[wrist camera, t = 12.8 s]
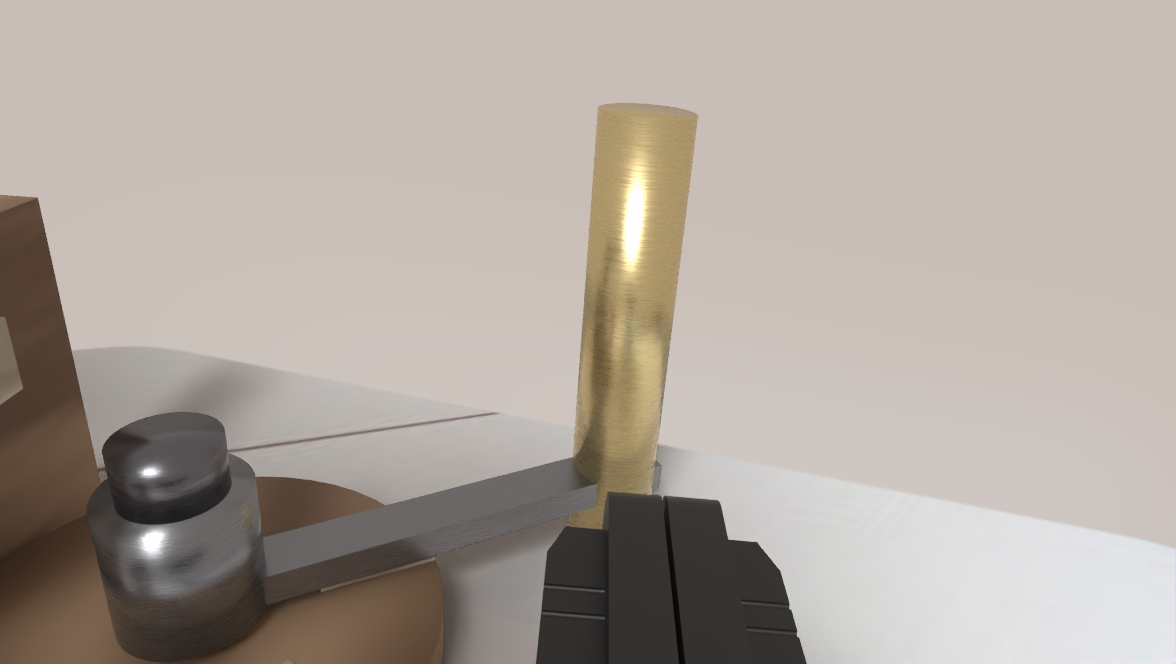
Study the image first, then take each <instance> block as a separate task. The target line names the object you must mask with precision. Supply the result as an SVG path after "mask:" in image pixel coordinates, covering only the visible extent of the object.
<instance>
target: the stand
mask: <svg viewBox="0 0 1176 664" xmlns="http://www.w3.org/2000/svg"><path fill="white" fill-rule="evenodd" d="M255 478H256V486H257V494H258V502H259V510H260V518H261V526H262V534H263V537H267V536H271V535H275V534H279V533H282V532H286V531H290V530H294V529H298V528H302V527H306V526H309V525H313V524H317V523H321V522H325V521H329V520H333V519H336V518H340V517H344V516H348V515H352V514H356V513H360V512H363V511H367V510H371V509H375V508H379V507H383V506H385V505H383V504H381V503H379V502H378V501H376V500H374V499H372V498H369V497H367V496H365V495H362V494H360V493H358V492H355V491H352V490H349V489H346V488H342V487H339V486H336V485H332V484H327V483H322V482H317V481H312V480H304V479H295V478H284V477H255ZM100 484H101V483H100V478H99V474H98V469H97V465H96V460H95V455H94V451H93V446H92V442H91V437H90V433H89V428H88V424H87V419H86V415H85V410H84V406H83V401H82V396H81V392H80V387H79V383H78V378H77V374H76V369H75V365H74V360H73V356H72V351H71V347H70V342H69V338H68V333H67V328H66V324H65V319H64V315H63V310H62V306H61V301H60V297H59V292H58V287H57V283H56V278H55V274H54V269H53V265H52V261H51V256H50V251H49V247H48V242H47V238H46V233H45V228H44V224H43V219H42V215H41V211H40V206H39V201H38V198H34V197H21V196H7V195H0V664H443V662H444V649H443V588H442V583H441V578H440V573H439V569H438V567H437V564H436V562H435V555H433V556H430V557H427V558H423V559H420V560H417V561H413V562H410V563H407V564H403V565H400V566H397V567H393V568H390V569H386V570H383V571H380V572H376V573H373V574H370V575H366V576H363V577H360V578H356V579H353V580H350V581H346V582H343V583H339V584H336V585H333V586H329V587H326V588H323V589H319V590H316V591H313V592H309V593H306V594H303V595H299V596H296V597H293V598H289V599H286V600H282V601H279V602H276V603H272V604H269V605H267V608H266V610H265V612H264V614H263V615H262V617H261V618H260V620H259V621H258V622H257V623H256V625H255V626H254V627H253V628H252V629H251V630H250V631H248V632H247V633H246V634H245V635H244V636H242V637H241V638H240V639H238V640H237V641H235V642H234V643H232V644H230V645H228V646H227V647H225V648H223V649H221V650H218V651H216V652H214V653H211V654H209V655H206V656H203V657H199V658H196V659H192V660H186V661H181V662H151V661H146V660H142V659H139V658H136V657H134V656H132V655H130V654H129V653H127V652H126V651H125V650H123V649H122V648H121V646H120V645H119V644H118V642H117V640H116V638H115V634H114V630H113V626H112V621H111V617H110V613H109V608H108V604H107V600H106V596H105V591H104V587H103V583H102V578H101V574H100V570H99V566H98V561H97V557H96V553H95V548H94V544H93V540H92V536H91V531H90V527H89V523H88V518H87V513H86V508H87V503H88V501H89V498H90V497H91V495H92V493H93V492H94V491H95V490H96V489H97V487H98V486H99V485H100Z"/></svg>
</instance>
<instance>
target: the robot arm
mask: <svg viewBox="0 0 1176 664" xmlns="http://www.w3.org/2000/svg"><path fill="white" fill-rule="evenodd" d="M536 664H806V660H805V657H804V653H803V650H802V646H801V643H800V639H799V637H797V628H796V625H795V621H794V618H793V614H792V611H791V610H789V600H788V597H787V593H786V590H785V586H784V583H783V579H782V576H781V572H780V570H779V569H778V568H777V567H776V565H775V564H774V563H773V562H772V560H771V559H770V558H769V557H768V556H767V554H766V553H765V552H764V551H763V549H762V548H761V547H760V546H759V544H758V543H757V542H747V541H736V540H728V537H727V532H726V528H725V523H724V518H723V513H722V508H721V505H720V502H719V501H718V500H708V499H696V498H684V497H673V496H664V497H663V500H662V497H661V496H658V495H647V494H635V493H624V492H612V491H607V495H606V501H605V509H604V517H603V526H602V529H591V528H580V527H568V526H566V527H565V528H564V530H563V531H562V532H561V534H560V535H559V537H558V538H557V539H556V541H555V542H554V543H553V545H552V546H551V548H550V549H549V550H548V552H547V561H546V571H545V580H544V590H543V600H542V610H541V620H540V630H539V640H538V650H537V660H536Z"/></svg>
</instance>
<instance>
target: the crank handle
mask: <svg viewBox="0 0 1176 664" xmlns="http://www.w3.org/2000/svg"><path fill="white" fill-rule="evenodd" d="M697 120H698V115H697V114H695V113H693V112H691V111H688V110H684V109H679V108H674V107H668V106H660V105H649V104H634V103H616V104H605V105H601V106H599V107H598V115H597V129H596V143H595V157H594V171H593V185H592V200H591V213H590V227H589V241H588V254H587V268H586V269H587V270H586V283H585V296H584V310H583V324H582V337H581V352H580V365H579V379H578V394H577V407H576V420H575V434H574V448H573V457H572V458H568V459H564V460H560V461H556V462H553V463H549V464H545V465H541V466H537V467H533V468H529V469H526V470H522V471H518V472H514V473H510V474H506V475H502V476H499V477H495V478H491V479H487V480H483V481H479V482H475V483H472V484H468V485H464V486H460V487H456V488H452V489H448V490H445V491H441V492H437V493H433V494H429V495H425V496H421V497H418V498H414V499H410V500H406V501H402V502H398V503H394V504H390V505H387V506H383V507H379V508H375V509H371V510H367V511H363V512H360V513H356V514H352V515H348V516H344V517H340V518H336V519H333V520H329V521H325V522H321V523H317V524H313V525H309V526H306V527H302V528H298V529H294V530H290V531H286V532H282V533H279V534H275V535H271V536H267V537H263V534H262V526H261V518H260V510H259V502H258V494H257V486H256V478H255V473H254V471H253V469H252V468H251V466H250V465H249V464H248V463H247V462H245V461H244V460H242V459H241V458H239V457H237V456H234V455H232V454H228V451H227V444H226V437H225V430H224V427H223V425H222V424H221V422H219V421H218V420H217V419H215V418H213V417H211V416H208V415H204V414H199V413H191V412H176V413H167V414H160V415H155V416H151V417H147V418H144V419H141V420H138V421H135V422H133V423H131V424H129V425H126V426H124V427H123V428H121V429H119V430H118V431H116V432H115V433H114V434H112V435H111V436H110V437H109V438H108V439H107V440H106V442H105V444H104V446H103V449H102V454H103V459H104V463H105V468H106V473H107V477H108V479H106V480H105V481H104V482H103V483H102V484H100V485H99V486H98V487H97V489H96V490H95V491H94V492H93V493H92V495H91V497H90V498H89V501H88V503H87V508H86V513H87V518H88V523H89V527H90V531H91V536H92V540H93V544H94V548H95V553H96V557H97V561H98V566H99V570H100V574H101V578H102V583H103V587H104V591H105V596H106V600H107V604H108V608H109V613H110V617H111V621H112V626H113V630H114V634H115V638H116V640H117V642H118V644H119V645H120V646H121V648H122V649H123V650H125V651H126V652H127V653H129V654H130V655H132V656H134V657H136V658H139V659H142V660H146V661H151V662H181V661H186V660H192V659H196V658H199V657H203V656H206V655H209V654H211V653H214V652H216V651H218V650H221V649H223V648H225V647H227V646H228V645H230V644H232V643H234V642H235V641H237V640H238V639H240V638H241V637H242V636H244V635H245V634H246V633H247V632H248V631H250V630H251V629H252V628H253V627H254V626H255V625H256V623H257V622H258V621H259V620H260V618H261V617H262V615H263V614H264V612H265V610H266V608H267V605H269V604H272V603H276V602H279V601H282V600H286V599H289V598H293V597H296V596H299V595H303V594H306V593H309V592H313V591H316V590H319V589H323V588H326V587H329V586H333V585H336V584H339V583H343V582H346V581H350V580H353V579H356V578H360V577H363V576H366V575H370V574H373V573H376V572H380V571H383V570H386V569H390V568H393V567H397V566H400V565H403V564H407V563H410V562H413V561H417V560H420V559H423V558H427V557H430V556H433V555H437V554H440V553H443V552H447V551H450V550H454V549H457V548H460V547H464V546H467V545H470V544H474V543H477V542H480V541H484V540H487V539H490V538H494V537H497V536H500V535H504V534H507V533H511V532H514V531H517V530H521V529H524V528H527V527H531V526H534V525H537V524H541V523H544V522H547V521H551V520H554V519H557V518H561V517H564V516H568V515H569V522H570V524H571V526H572V527H580V528H591V529H602V526H603V517H604V509H605V501H606V495H607V491H612V492H624V493H635V494H647V495H651V494H652V490H655V489H658V488H659V482H660V474H661V465H660V464H659V463H658V462H657V461H656V453H657V445H658V436H659V428H660V420H661V413H662V404H663V396H664V388H665V380H666V372H667V363H668V356H669V347H670V339H671V331H672V323H673V315H674V307H675V299H676V291H677V282H678V275H679V266H680V258H681V250H682V242H683V234H684V225H685V217H686V209H687V201H688V193H689V184H690V177H691V169H692V160H693V152H694V144H695V136H696V128H697Z"/></svg>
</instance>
